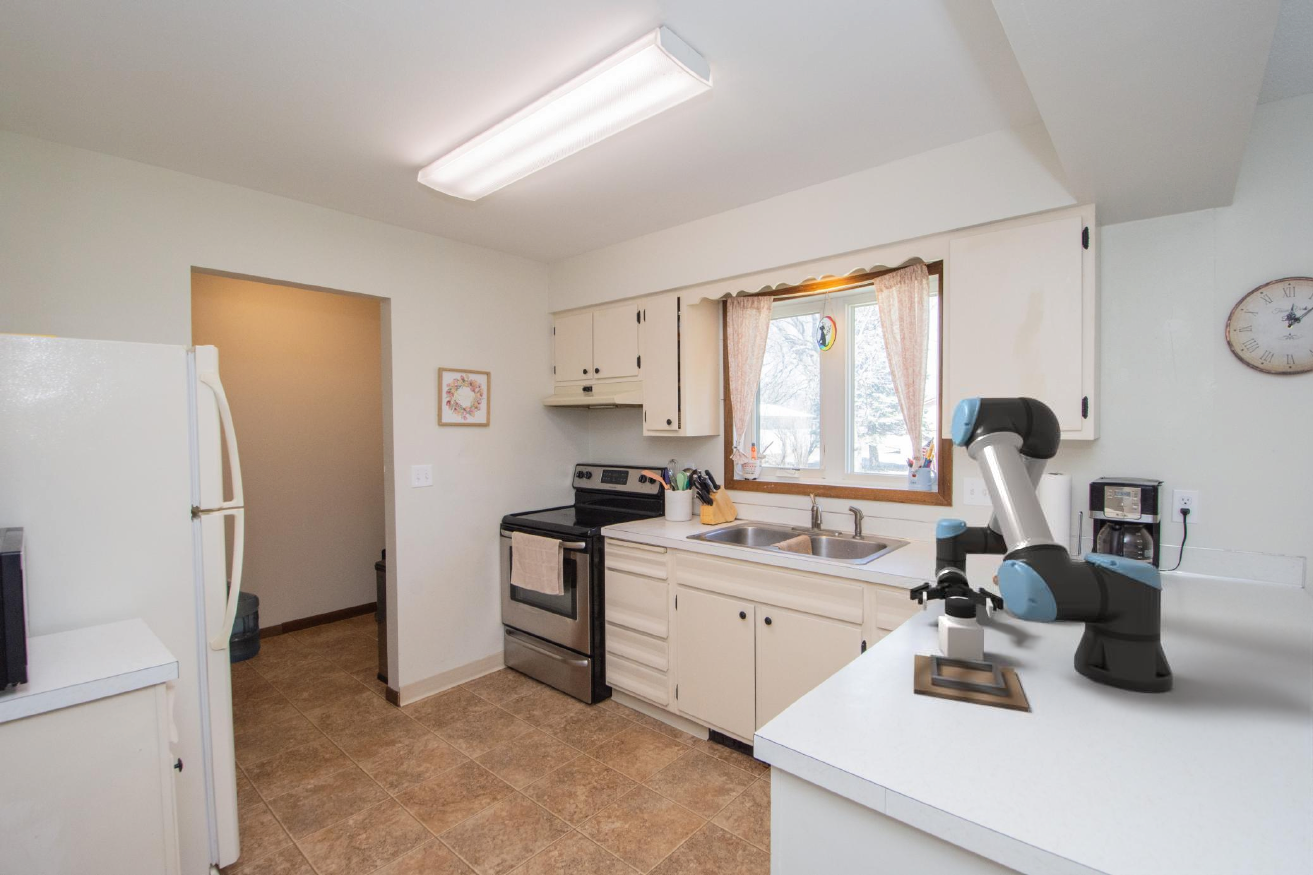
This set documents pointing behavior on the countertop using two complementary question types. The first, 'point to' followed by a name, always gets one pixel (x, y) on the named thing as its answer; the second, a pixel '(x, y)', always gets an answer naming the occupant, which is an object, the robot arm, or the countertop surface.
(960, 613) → the medicine bottle
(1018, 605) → the robot arm
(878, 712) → the countertop surface
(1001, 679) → the dock
